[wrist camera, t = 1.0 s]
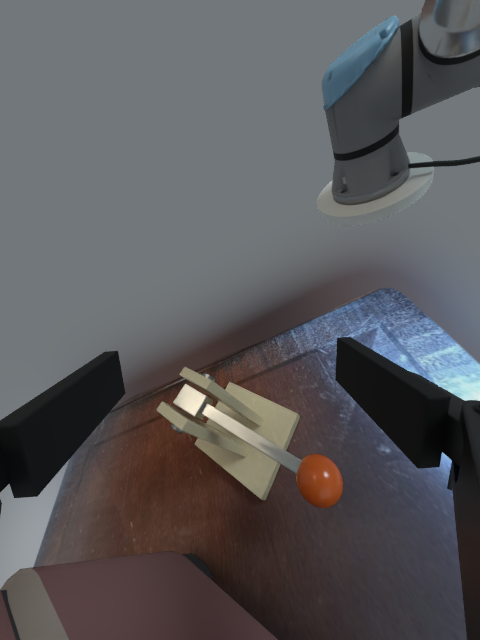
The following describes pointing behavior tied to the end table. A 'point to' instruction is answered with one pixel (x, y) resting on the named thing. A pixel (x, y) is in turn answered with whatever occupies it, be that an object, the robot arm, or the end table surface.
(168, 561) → the toaster
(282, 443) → the bracket
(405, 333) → the end table surface
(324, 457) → the lever
